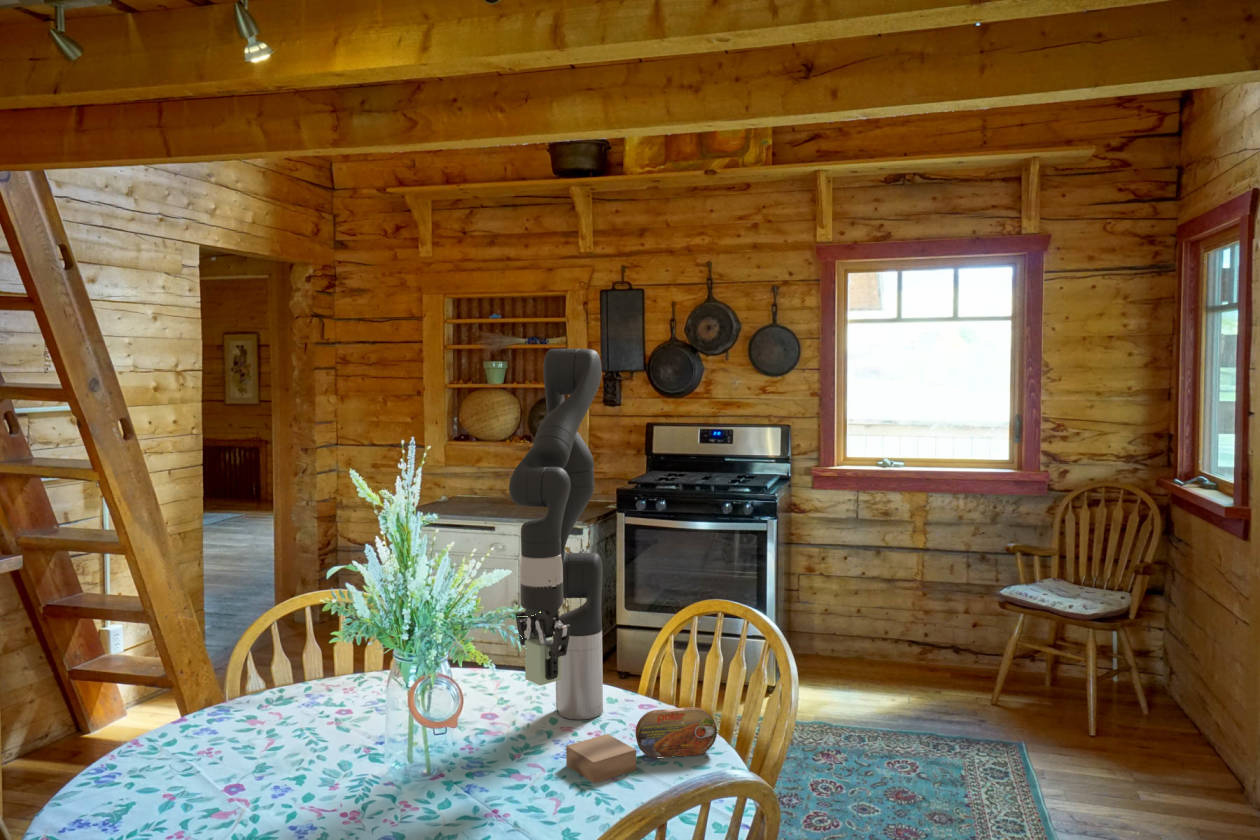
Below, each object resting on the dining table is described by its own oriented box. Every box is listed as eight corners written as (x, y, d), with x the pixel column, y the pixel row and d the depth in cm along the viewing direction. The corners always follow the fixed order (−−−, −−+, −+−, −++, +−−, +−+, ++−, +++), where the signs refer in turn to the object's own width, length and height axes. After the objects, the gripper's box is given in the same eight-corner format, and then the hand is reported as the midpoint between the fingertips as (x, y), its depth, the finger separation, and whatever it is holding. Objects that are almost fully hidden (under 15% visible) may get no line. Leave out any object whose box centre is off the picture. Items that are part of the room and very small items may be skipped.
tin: (637, 760, 173) (636, 714, 172) (634, 753, 176) (633, 708, 175) (717, 754, 175) (717, 709, 174) (713, 747, 178) (713, 703, 177)
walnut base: (566, 767, 170) (566, 745, 170) (607, 755, 176) (607, 733, 175) (594, 785, 163) (593, 762, 163) (636, 771, 168) (636, 749, 168)
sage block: (525, 679, 168) (524, 640, 168) (546, 673, 171) (545, 635, 171) (540, 685, 165) (539, 646, 164) (561, 679, 168) (560, 640, 167)
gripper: (501, 576, 170) (503, 669, 171) (548, 590, 159) (549, 690, 160) (535, 569, 175) (537, 660, 176) (583, 583, 164) (584, 680, 165)
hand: (543, 674), depth 168 cm, fingers closed on sage block, 4 cm apart
